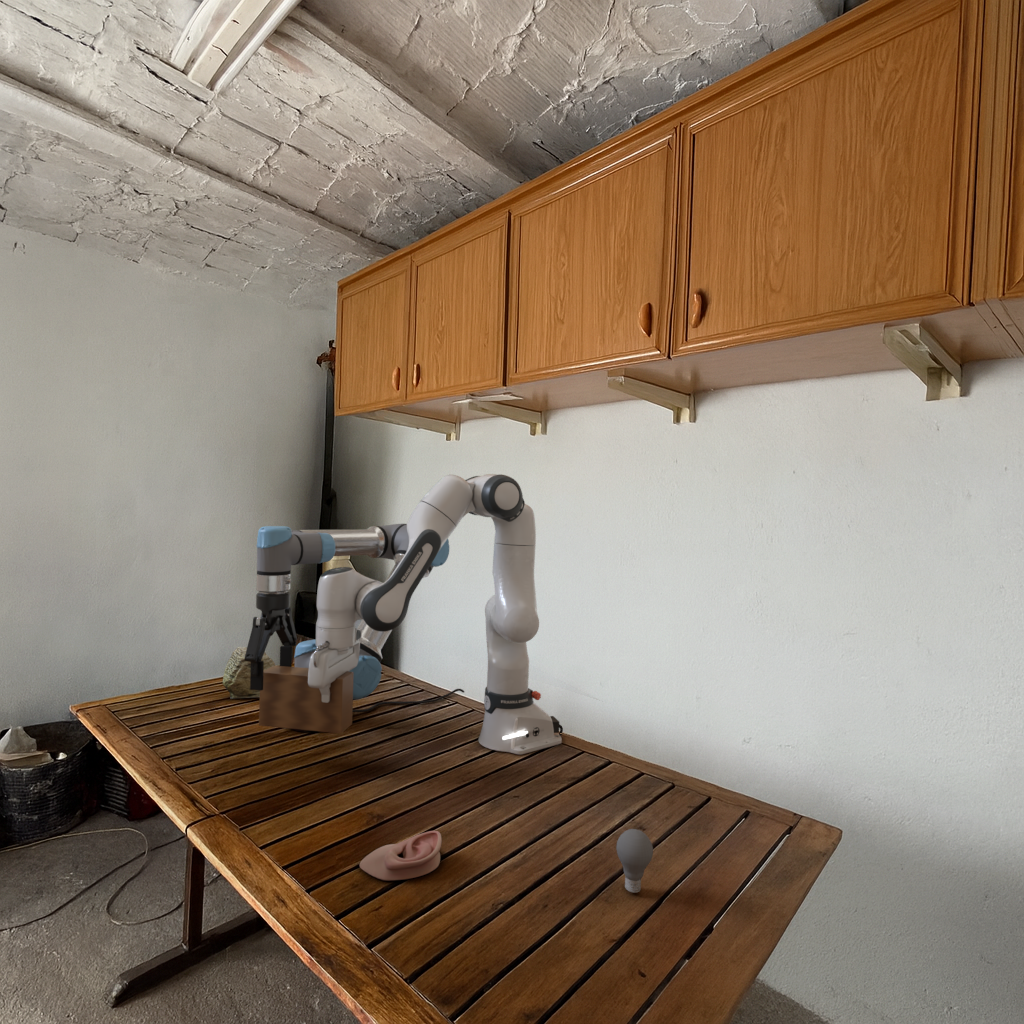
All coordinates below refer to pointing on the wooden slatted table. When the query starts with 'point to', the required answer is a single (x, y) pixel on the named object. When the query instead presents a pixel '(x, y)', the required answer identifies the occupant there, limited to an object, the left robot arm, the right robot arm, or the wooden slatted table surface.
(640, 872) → the light bulb
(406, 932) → the wooden slatted table surface
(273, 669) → the box
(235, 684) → the fossil
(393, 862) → the anatomical model
